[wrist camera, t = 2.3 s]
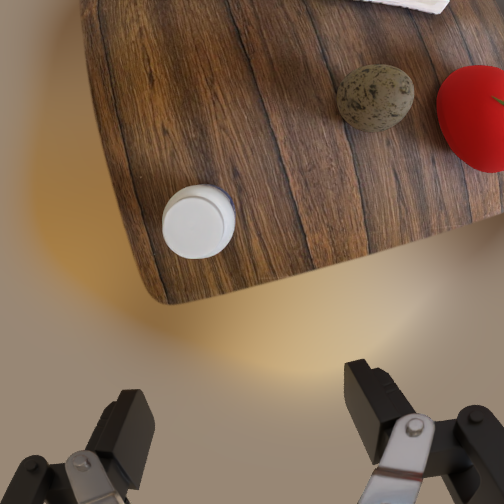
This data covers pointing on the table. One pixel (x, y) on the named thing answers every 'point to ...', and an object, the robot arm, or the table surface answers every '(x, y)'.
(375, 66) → the decorative egg
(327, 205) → the table surface
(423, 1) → the plate
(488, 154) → the tomato
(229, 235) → the pill bottle
